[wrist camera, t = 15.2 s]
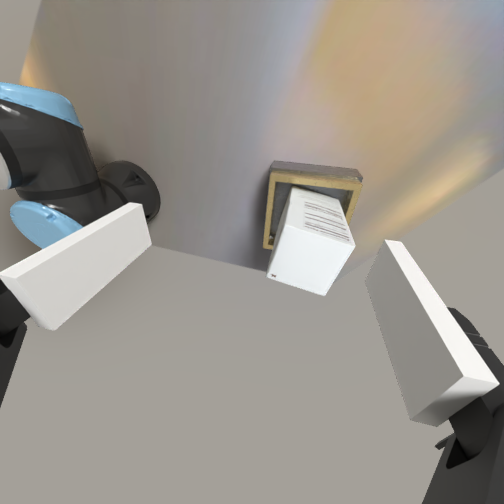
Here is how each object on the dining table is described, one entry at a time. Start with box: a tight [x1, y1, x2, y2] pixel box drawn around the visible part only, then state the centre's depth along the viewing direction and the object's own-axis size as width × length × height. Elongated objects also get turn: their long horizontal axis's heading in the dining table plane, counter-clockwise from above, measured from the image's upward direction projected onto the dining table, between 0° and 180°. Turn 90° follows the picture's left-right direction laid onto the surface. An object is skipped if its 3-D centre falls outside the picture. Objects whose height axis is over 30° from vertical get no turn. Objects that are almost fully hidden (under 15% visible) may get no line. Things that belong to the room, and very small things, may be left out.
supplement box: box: [266, 186, 355, 296], centre depth 36 cm, size 10×9×17 cm
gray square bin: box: [263, 161, 363, 249], centre depth 44 cm, size 16×16×9 cm
